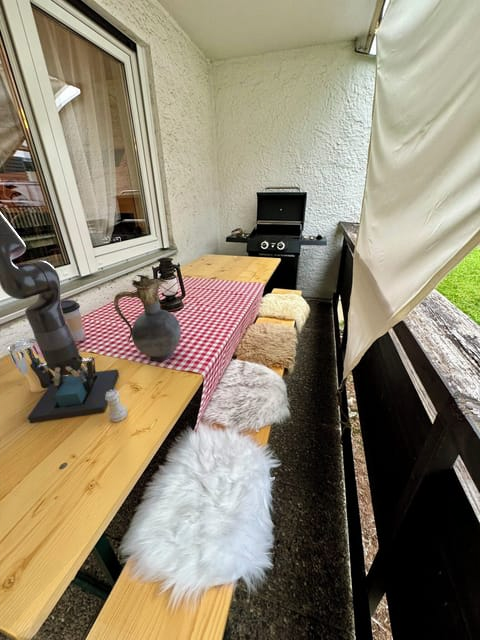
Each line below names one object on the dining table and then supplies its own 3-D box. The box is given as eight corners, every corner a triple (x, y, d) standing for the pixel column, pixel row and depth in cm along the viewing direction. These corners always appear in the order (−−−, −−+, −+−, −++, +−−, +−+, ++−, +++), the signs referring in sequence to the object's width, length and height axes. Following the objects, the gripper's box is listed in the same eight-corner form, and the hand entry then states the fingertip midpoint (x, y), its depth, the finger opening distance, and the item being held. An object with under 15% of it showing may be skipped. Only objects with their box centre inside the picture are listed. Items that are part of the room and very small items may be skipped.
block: (59, 407, 69) (54, 396, 67) (74, 382, 78) (69, 372, 76) (81, 404, 70) (77, 393, 68) (93, 380, 78) (89, 369, 77)
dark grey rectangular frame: (30, 423, 66) (27, 417, 65) (57, 381, 80) (55, 376, 79) (104, 412, 69) (102, 407, 68) (118, 374, 83) (117, 369, 82)
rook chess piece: (108, 424, 65) (99, 401, 61) (110, 411, 69) (102, 388, 65) (127, 420, 66) (119, 397, 62) (128, 407, 70) (121, 385, 66)
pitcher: (183, 362, 87) (169, 277, 73) (124, 367, 85) (99, 281, 72) (185, 344, 97) (173, 266, 83) (132, 349, 95) (112, 270, 81)
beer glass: (61, 382, 80) (42, 341, 73) (36, 397, 74) (13, 354, 67) (49, 375, 83) (30, 335, 76) (24, 388, 77) (2, 347, 70)
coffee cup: (87, 330, 109) (75, 297, 102) (92, 338, 102) (80, 304, 95) (61, 337, 104) (47, 303, 97) (65, 347, 97) (50, 311, 90)
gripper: (91, 331, 70) (107, 379, 78) (33, 337, 68) (55, 386, 76) (81, 346, 63) (100, 397, 71) (16, 353, 61) (43, 405, 69)
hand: (77, 391), depth 73 cm, fingers closed on block, 5 cm apart
